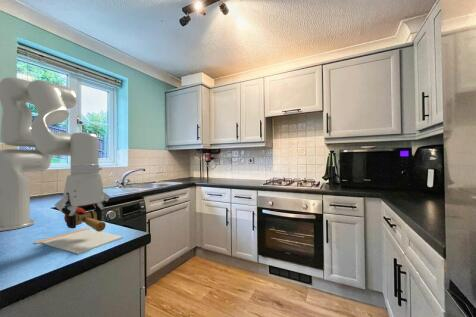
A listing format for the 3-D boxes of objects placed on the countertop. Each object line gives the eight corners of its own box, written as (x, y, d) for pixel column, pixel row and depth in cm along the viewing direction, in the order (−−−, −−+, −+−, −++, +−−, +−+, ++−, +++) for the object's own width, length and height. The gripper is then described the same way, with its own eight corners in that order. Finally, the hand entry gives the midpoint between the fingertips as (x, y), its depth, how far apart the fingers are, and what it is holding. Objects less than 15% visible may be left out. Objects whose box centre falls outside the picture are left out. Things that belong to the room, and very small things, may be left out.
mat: (41, 243, 69) (41, 242, 69) (87, 230, 81) (87, 229, 81) (78, 254, 60) (78, 252, 60) (123, 237, 73) (123, 236, 73)
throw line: (33, 243, 69) (33, 242, 69) (86, 228, 83) (86, 228, 83) (36, 244, 68) (36, 243, 68) (89, 229, 83) (89, 228, 83)
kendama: (115, 231, 70) (84, 217, 78) (113, 213, 69) (82, 201, 77) (89, 243, 63) (59, 226, 72) (86, 223, 62) (56, 209, 70)
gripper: (103, 169, 80) (104, 216, 80) (46, 171, 64) (46, 230, 64) (117, 169, 77) (117, 218, 77) (60, 171, 61) (60, 234, 61)
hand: (85, 223), depth 70 cm, fingers closed on kendama, 7 cm apart
